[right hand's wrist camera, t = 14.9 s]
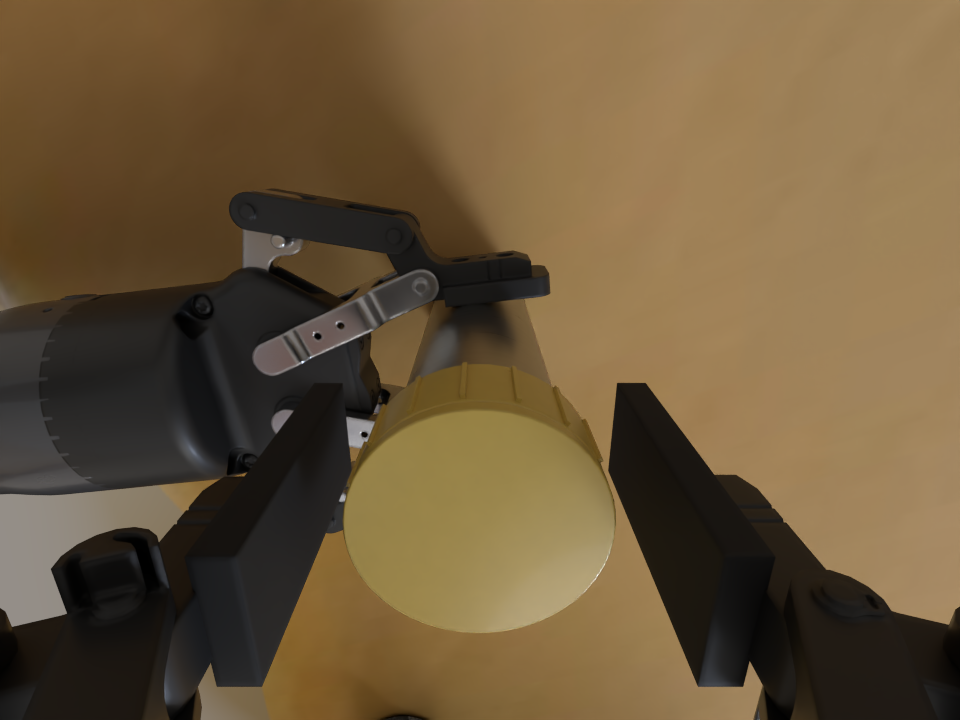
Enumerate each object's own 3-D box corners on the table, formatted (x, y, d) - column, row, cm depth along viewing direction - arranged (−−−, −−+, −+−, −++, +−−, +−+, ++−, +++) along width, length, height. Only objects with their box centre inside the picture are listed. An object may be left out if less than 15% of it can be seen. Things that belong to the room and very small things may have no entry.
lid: (467, 593, 14) (465, 673, 12) (316, 456, 12) (281, 519, 10) (639, 479, 13) (672, 545, 10) (494, 311, 11) (498, 347, 9)
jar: (418, 288, 25) (334, 462, 11) (502, 249, 25) (535, 377, 10) (458, 366, 27) (433, 612, 12) (538, 330, 26) (614, 547, 11)
